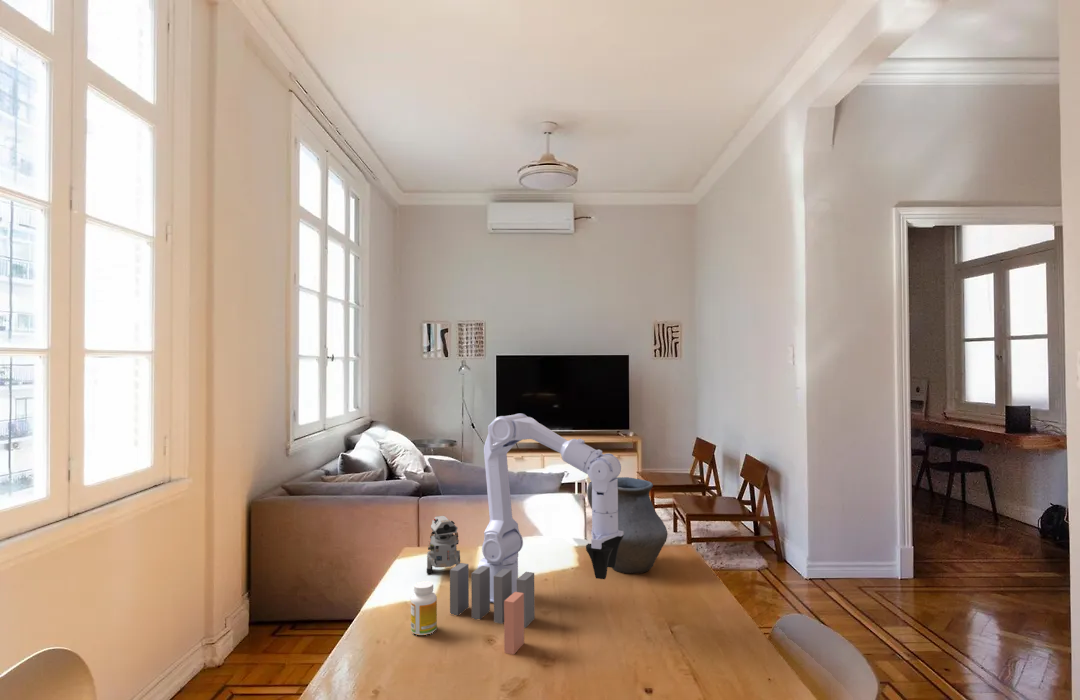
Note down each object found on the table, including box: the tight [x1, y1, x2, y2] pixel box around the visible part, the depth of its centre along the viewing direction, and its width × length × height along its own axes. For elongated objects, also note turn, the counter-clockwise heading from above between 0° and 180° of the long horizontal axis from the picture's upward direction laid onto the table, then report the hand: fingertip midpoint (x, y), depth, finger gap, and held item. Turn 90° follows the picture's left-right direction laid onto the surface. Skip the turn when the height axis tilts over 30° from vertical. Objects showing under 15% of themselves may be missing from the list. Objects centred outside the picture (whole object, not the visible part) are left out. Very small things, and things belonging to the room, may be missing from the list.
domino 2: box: [470, 566, 491, 620], centre depth 133 cm, size 2×5×10 cm, turn 158°
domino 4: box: [517, 571, 536, 629], centre depth 129 cm, size 2×5×10 cm, turn 158°
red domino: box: [503, 592, 525, 656], centre depth 117 cm, size 2×5×10 cm, turn 158°
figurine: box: [426, 515, 461, 574], centre depth 159 cm, size 9×12×15 cm
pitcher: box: [586, 476, 669, 574], centre depth 163 cm, size 21×22×25 cm
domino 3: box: [493, 569, 512, 625], centre depth 131 cm, size 2×5×10 cm, turn 158°
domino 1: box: [449, 562, 470, 616], centre depth 135 cm, size 2×5×10 cm, turn 158°
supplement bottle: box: [410, 580, 438, 635], centre depth 125 cm, size 5×5×10 cm
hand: (605, 572), depth 131 cm, fingers open, 7 cm apart
